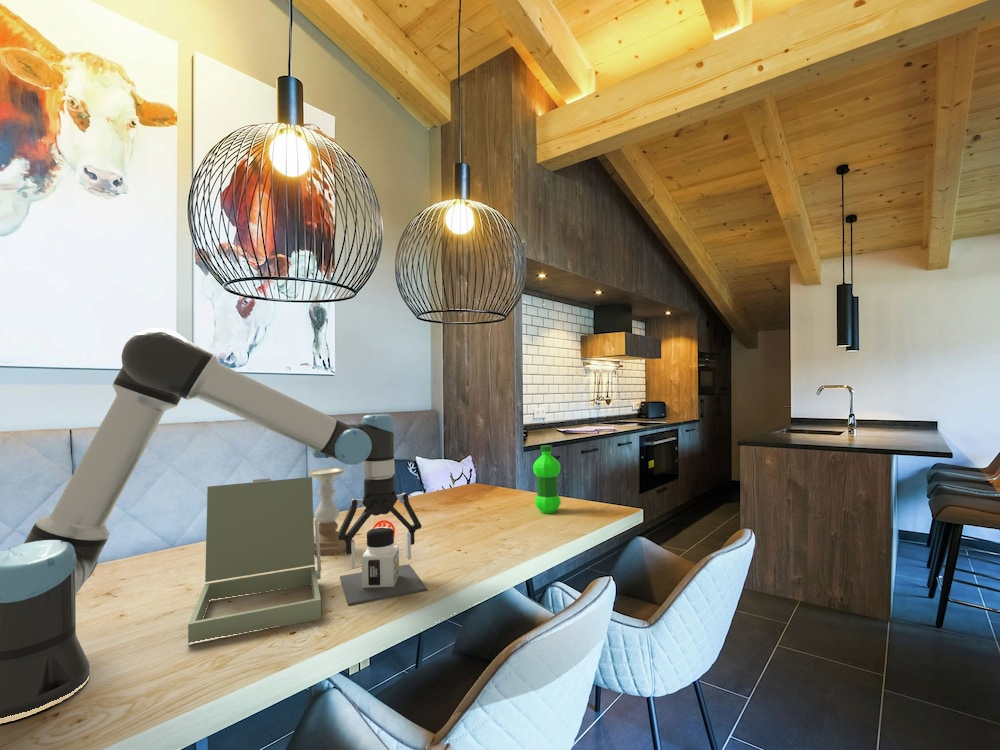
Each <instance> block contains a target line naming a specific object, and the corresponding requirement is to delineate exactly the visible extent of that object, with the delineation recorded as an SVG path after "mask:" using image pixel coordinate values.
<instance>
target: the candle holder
mask: <svg viewBox="0 0 1000 750" xmlns="http://www.w3.org/2000/svg"><path fill="white" fill-rule="evenodd" d="M344 471H345V470H344V468H335V467H333V468H332V467H330V468H320V469H314V470H311V471H309V472H308V476H309V477H312V478H317V481H318V482H319V484H320V487H319V489H318V491H317V494H318V495H319V497H320V503H319V505H318V506H317V508H316V510H315V512H314V514H313V518H314V521H315V520H316V519H317V520H318V523H319V541H320V555H321V556H339V555H338V554H340V555H341V553H342V552H343V553H344V551H346V543H345V541H344V540H339V539H338V536H337V535H338V532H339V530H338V531H337V529H338V528H339V525H338V522H336V521H337V520H339V517H340V510H339V508H338V506H337V505H336V503H335V502H334V499H333V498H334V495H335V493H336V488H334V486H333V484H334V481H335V480H336V477H337V476H338V475H342V474H344V473H345V472H344ZM343 553H342V554H343ZM335 554H337V555H335ZM314 555H317V548H316V534H314Z"/></svg>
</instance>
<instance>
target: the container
mask: <svg viewBox="0 0 1000 750" xmlns="http://www.w3.org/2000/svg"><path fill="white" fill-rule="evenodd" d="M394 533H395V532H394V529H393V528H391V527H389V526H377V527H374V528H371V529H369V530H368V531H367V532H366V550H365V551H364V552H363V554H362V556H361V572H362V588H381V587H394V586H395V583H396V581H397V579H398V577H399V566H400V546H399V545H398V544H397V545H395V534H394Z"/></svg>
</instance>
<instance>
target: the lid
mask: <svg viewBox="0 0 1000 750" xmlns="http://www.w3.org/2000/svg"><path fill="white" fill-rule="evenodd" d="M206 488H207V490H206V491H207V492H206V497H207V498H206V500H207V501H206V529H205V530H206V532H205V533H206V536H205V569H204V570H205V571H204V572H205V573H204V574H205V575H204V577H205V578H204V582H205V583H208V582H210V583H211V582H215V581H216V582H217V581H223V580H226V579H227V580H229V579H236V578H242V577H248V576H254V575H261V574H265V573H266V574H267V573H273V572H280V571H286V570H292V569H298V568H305V567H311V566H313V565H314V566H315V564H316V563H315V559H316V557H315V556H314V536H315V533H314V530H315V529H314V527H315V525H314V524H315V523H314V498H313V496H314V495H313V494H314V493H313V491H314V490H313V477H311V476H309V477H308V476H307V477H298V478H297V477H296V478H286V479H275V480H274V479H273V480H271V478H269V477H268V478H260V479H252V482H244V483H232V484H231V483H230V484H222V485H209V486H207V487H206Z"/></svg>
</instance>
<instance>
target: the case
mask: <svg viewBox="0 0 1000 750" xmlns="http://www.w3.org/2000/svg"><path fill="white" fill-rule="evenodd" d="M314 524H315V525H314V527H315V529H314V530H315V535H316V548H317V556H316V561H317V562H316V563H317V564H316V565H317V567H315V565H314V566H306V567H300V568H294V569H288V570H281V571H275V572H269V573H266V574H265V573H263V574H257V575H250V576H244V577H238V578H232V579H227V580H226V579H225V580H219V581H216V582H215V581H213V582H210V583H208V582H207V583H204V586H203V587H202V590H201V593H200V595H199V597H198V600H197V602H196V605H195V607H194V609H193V611H192V615H191V616H190V619H189V621H188V623H187V630H188V631H187V632H188V633H187V640H188V641H187V642H188V643H190V642H195V641H200V640H205V639H210V638H215V637H221V636H228V635H233V634H239V633H244V632H249V631H254V630H260V629H265V628H271V627H275V626H276V627H277V626H283V627H285V626H284V625H288V626H290V625H289V624H293V625H297V624H301V622H302V623H306V622H312V621H316V620H317V621H318V620H322V604H321V603H322V599H321V594H320V587H319V582H318V580H321V579H322V578H321V576H322V575H321V571H322V564H321V563H322V561H321V560H322V559H321V556H320V541H319V522H318V520H317V519H316V520H315V519H314ZM316 569H317V570H316ZM310 584H311V585H310ZM304 585H305V586H311V595H312V594H313V595H312V599H307V600H302V601H297V602H291V603H284V604H281V605H275V606H269V607H264V608H258V609H253V610H248V611H243V612H236V613H232V614H231V613H230V614H226V615H221V616H215V617H210V618H209V617H208V618H204V619H203V616H204V614H205V615H206V613H205V611H206V608H207V605H208V603H209V604H210V602H209V600H211V599H218V598H225V597H232V596H238V595H245V594H252V593H259V592H265V593H267V592H266V591H270V592H272V591H271V590H276V591H279V590H278V589H282V590H285V589H284V588H288V589H292V587H293V588H298V587H297V586H299V587H303V586H304ZM259 594H260V593H259ZM208 606H209V605H208ZM207 609H208V608H207ZM206 612H207V611H206ZM204 617H205V616H204ZM202 619H203V620H202ZM296 623H297V624H296ZM188 643H187V644H188Z"/></svg>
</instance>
